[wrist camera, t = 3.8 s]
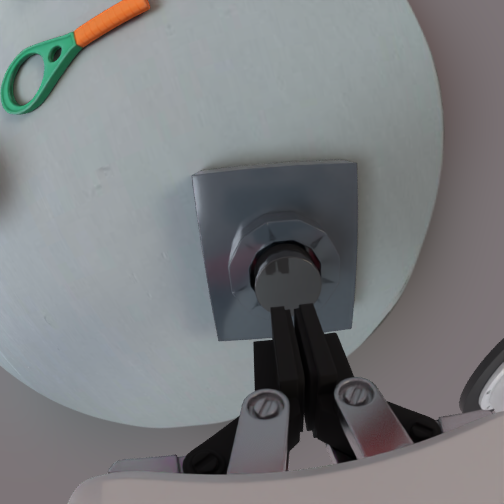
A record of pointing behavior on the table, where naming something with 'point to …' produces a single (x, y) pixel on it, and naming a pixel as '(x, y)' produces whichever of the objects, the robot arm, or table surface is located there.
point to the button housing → (277, 236)
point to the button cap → (286, 278)
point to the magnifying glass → (65, 52)
